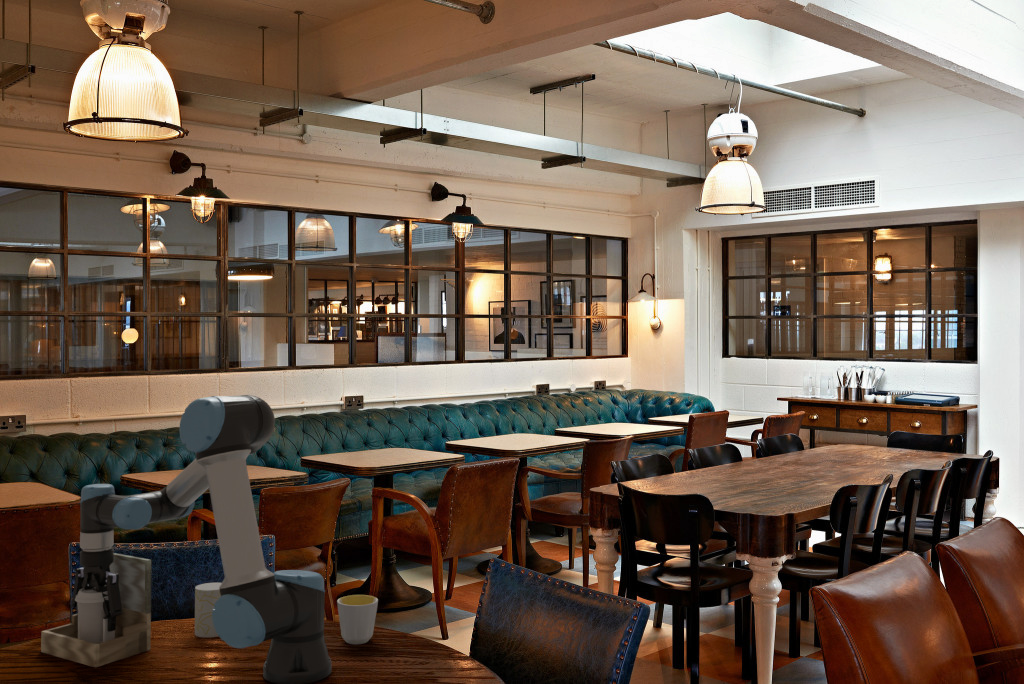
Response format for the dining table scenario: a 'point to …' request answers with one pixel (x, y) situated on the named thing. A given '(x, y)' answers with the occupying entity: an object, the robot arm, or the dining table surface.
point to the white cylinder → (205, 608)
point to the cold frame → (129, 625)
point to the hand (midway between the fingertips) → (96, 640)
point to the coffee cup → (91, 614)
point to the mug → (357, 617)
